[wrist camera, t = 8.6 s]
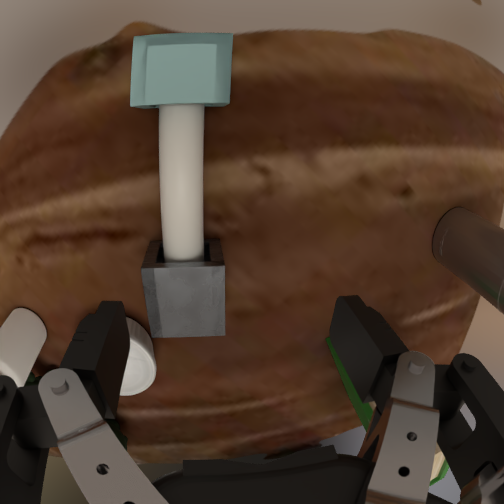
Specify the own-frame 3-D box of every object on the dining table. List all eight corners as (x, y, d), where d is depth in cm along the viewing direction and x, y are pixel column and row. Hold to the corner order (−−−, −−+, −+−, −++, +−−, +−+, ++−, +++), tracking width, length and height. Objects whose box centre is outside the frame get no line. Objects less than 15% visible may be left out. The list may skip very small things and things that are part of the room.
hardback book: (325, 338, 42) (399, 480, 21) (369, 315, 42) (461, 441, 21) (348, 396, 50) (400, 502, 29) (383, 377, 50) (443, 477, 28)
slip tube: (205, 77, 25) (206, 70, 22) (205, 284, 34) (206, 305, 31) (162, 78, 25) (156, 72, 21) (169, 285, 34) (166, 306, 30)
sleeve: (219, 238, 33) (224, 266, 28) (220, 300, 37) (225, 335, 31) (150, 240, 32) (140, 268, 26) (157, 302, 35) (151, 337, 30)
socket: (226, 50, 25) (232, 33, 19) (223, 106, 28) (229, 103, 22) (146, 52, 24) (133, 36, 18) (144, 108, 26) (130, 106, 21)
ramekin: (137, 295, 35) (129, 322, 30) (172, 359, 40) (171, 388, 35) (65, 316, 34) (53, 341, 30) (105, 374, 39) (99, 400, 35)
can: (4, 314, 32) (-32, 369, 22) (28, 299, 32) (-11, 358, 22) (30, 347, 35) (3, 405, 25) (55, 335, 35) (27, 398, 24)
